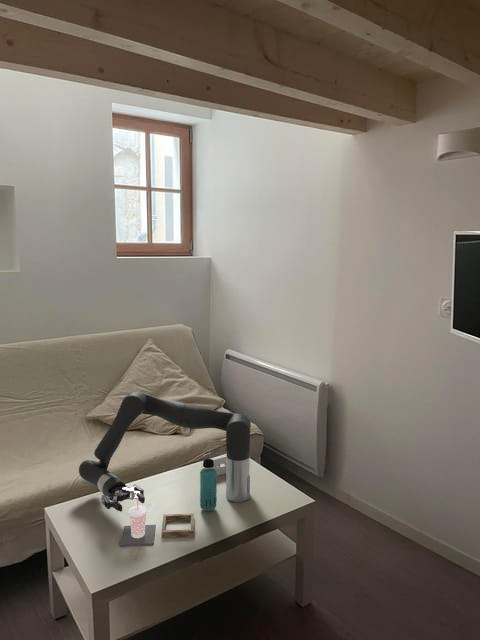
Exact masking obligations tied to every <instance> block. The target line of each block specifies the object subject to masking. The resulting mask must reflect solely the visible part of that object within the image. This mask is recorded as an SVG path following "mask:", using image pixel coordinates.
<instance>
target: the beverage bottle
mask: <svg viewBox="0 0 480 640" xmlns="http://www.w3.org/2000/svg"><path fill="white" fill-rule="evenodd" d="M212 459H213V458H206V459H203V461H202V467H203V468H201V470H200V471H199V476H200V477H199V478H200V480H199V483H200V484H199V485H200V489H199V495H200V496H199V507H200V508H201V510H203V511H206V512H207V511H213V510H215V509H216V508H217V502H218V498H217V493H218V490H217V486H218V485H217V484H218V483H217V477H218V476H216V473H217V471H216V470H215V469H214V468H213V466H214V461H213V460H212Z"/></svg>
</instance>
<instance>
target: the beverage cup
mask: <svg viewBox="0 0 480 640" xmlns="http://www.w3.org/2000/svg"><path fill="white" fill-rule="evenodd" d="M136 496H137V495H136ZM147 512H148V509H147V508H146V506H144V505H140V504H139V501H138V496H137V499H136V505H134V506H132V507H129V509H128V515H129V523H130V524H129V526H131V536H132V537H134V538H141V537H143V536H144V535H145V525H146V519H147V518H146V516H147Z"/></svg>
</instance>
